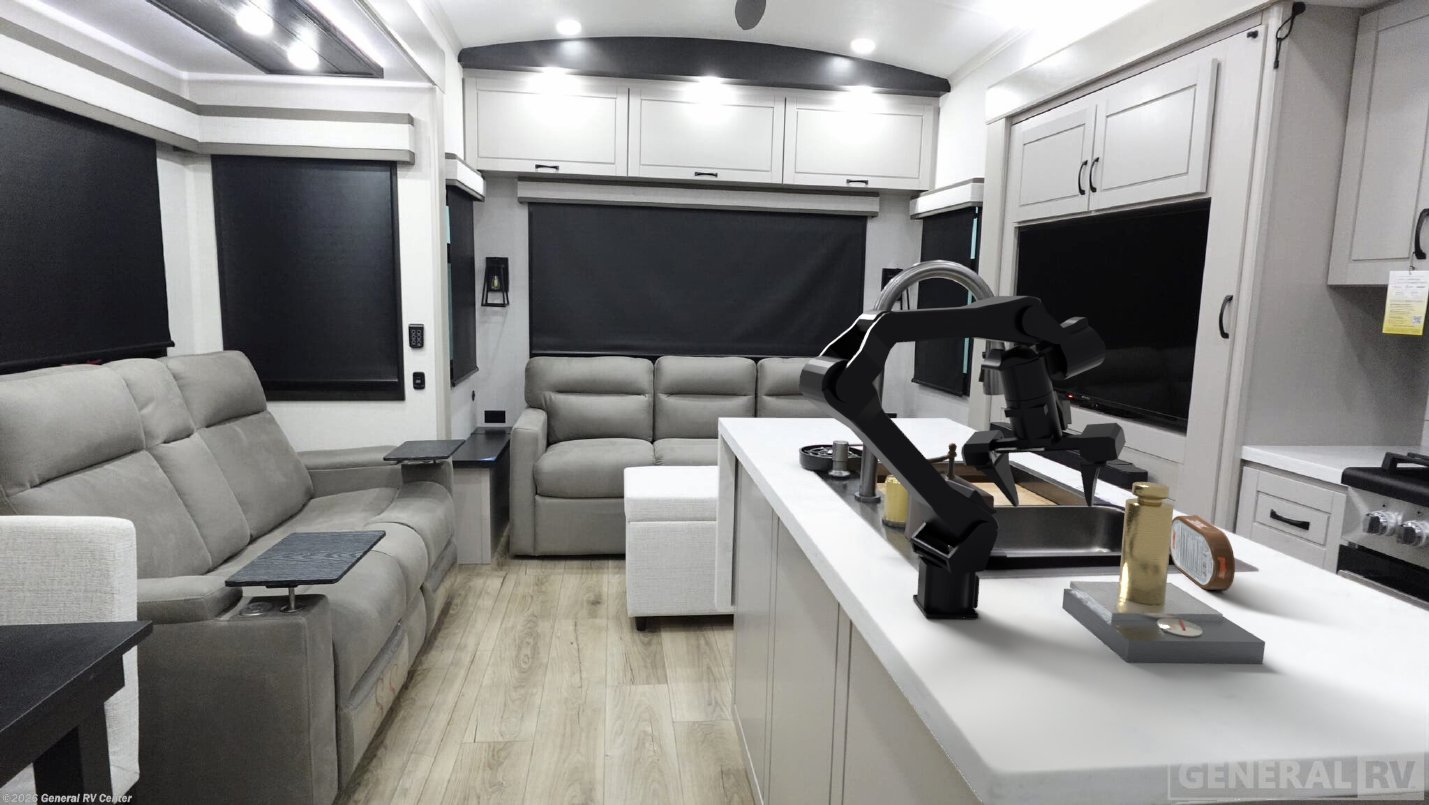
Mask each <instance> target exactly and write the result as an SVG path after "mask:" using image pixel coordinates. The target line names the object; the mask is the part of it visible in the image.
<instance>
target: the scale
mask: <svg viewBox="0 0 1429 805" xmlns="http://www.w3.org/2000/svg"><path fill="white" fill-rule="evenodd" d="M1118 590H1119V581H1084V580H1083V581H1079V580H1078V581H1076V580H1074V581H1070V583H1069V588H1063V595H1062V609H1063V610H1065V611H1066V612H1067V613H1068V614H1069V615H1071V616H1072V617H1073V618H1074V619H1075V620H1076V621H1078V622H1079V623H1080V624H1082V625H1083V627H1085V628H1086V629H1087V630H1088V631H1089V632H1091V633H1092V634H1093V635H1094V636H1095V637H1096V638H1097V639H1099V640H1100V641H1101V642H1103V644H1104V645H1106V646H1107V647H1108V648H1109V649H1110V650H1112V651H1113V652H1114V653H1115V654H1116V655H1118V656H1119V657H1120V658H1121V659H1122V660H1124V661H1125V662H1126V663H1148V664H1149V663H1150V664H1151V663H1152V664H1153V663H1155V664H1157V663H1158V664H1161V663H1162V664H1163V663H1166V664H1179V663H1180V664H1243V665H1244V664H1247V665H1248V664H1249V665H1250V664H1251V665H1253V664H1257V665H1258V664H1259V665H1261V664H1262V665H1263V662H1264V656H1265V648H1266V646H1265V645H1266V641H1264V640H1263V639H1261V638H1259V637H1258V636H1257V635H1255V634H1253V633H1252V632H1249V631H1248V630H1246V629H1245V628H1244V627H1241V626H1240V625H1239V624H1236V623H1235V622H1233V621H1232V620H1231V619H1228V618H1226V617H1225V616H1224V614H1223V613H1222V612H1220V611H1218V610H1217V609H1215V608H1213V607H1212V606H1210V605H1209V604H1207V603H1206V602H1204V601H1202V600H1200V599H1199V598H1197V597H1195V596H1193V595H1192V594H1190V593H1189V592H1187V591H1185V590H1184V589H1182V588H1180V587H1179V586H1177V585H1175V584H1174V583H1173V582H1168V581H1167V585H1166V596H1165V602H1164V603H1162V604H1143V603H1137V602H1133V601H1130V600H1127V599H1125V598H1123V597H1121V596H1120V595H1119V594H1118Z"/></svg>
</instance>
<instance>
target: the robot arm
mask: <svg viewBox="0 0 1429 805" xmlns="http://www.w3.org/2000/svg"><path fill="white" fill-rule="evenodd" d="M1041 300H1042V299H1041V298H1039V297H1036V296H1031V295H995V296H992V297H988V298H983V299H980V300H979V299H978V300H976V301H974V302H972V303H969V304H966V305H963V306H959V307H958V306H956V307H937V308H918V309H916V308H915V309H903V310H901V309H897V310H896V309H895V310H894V309H893V310H889V309H869V310H866V311H864V312H862V314H861V315H859V316H858V318H857V319H856V320H855V321H854V322H853V323H852V324H851V325H850V326H849V328H847V329H846V330H845V331H843V332H842V333H841V334H840V335H838V337H836V338H835V339H834V340H832V341H831V342H830V343H829V344H827V346H825V348H824V349H823V350H822V352H821V353H820V354H819V355H818V356H815V357H812V358H811V359H810V360H808V361H807V362H806V363H805V364H804V366H803V368H802V369H801V372H800V375H799V385H798V388H799V391H800V392H801V394H802V395H803V397H804V398H805V399H806V400H807V401H808V402H809V403H811V404H812V405H814V406H815V407H817V408H818V409H819V410H820V411H822V412H824V413H825V414H827V415H828V416H830V417H831V418H832V419H834V420H836V421H837V422H839V423H841V424H842V425H843V426H845V427H847V428H849V430H850V431H851V432H852V433H854V434H855V436H856V437H857V438H858V440H859V441H861V443H863V445H864V446H866V448H867V450H869V451H870V452H871V453H872V454H873V455H874V456H875V458H876V459H877V460H878V461H879V462H880V463H881V465H883V467H884V468H885V469H886V470H888V472H889V473H890V474H891V475H892V476H893V477H894V478H895V480H897V481H898V483H899V484H900V485H901V486H902V487H903V488H904V489H905V490H906V491H907V493H908V492H909V493H910V494H911V496H912V497H913V498H914V499H915V500H916V501H917V503H918V504H919V508H920V512H921V516H922V518H923V520H924V523H923V524H922V526H921V527H920V528H919V529H918V530H917V531H916V532H915V533H914V534H913V535H912V537H911V538H910V541H909V542H910V545H911V548H912V552H913V553H914V554H916V555H919V559H918V560H919V562H918V575H917V576H918V578H917V579H918V580H917V593H916V594H912V599H913V601H914V602H915V604H916V605H917V606H918V608H919V609H920V611H921V612H922V614H923V615H924V617H926V618H928V619H979V613H978V612H977V610H976V609H977V608H978V606H979V594H980V593H979V592H980V591H979V590H980V577H979V576H978V574H977V573H980V572H984V571H985V570H986V567H987V564H988V561H989V559H990V556H991V554H992V551H993V548H994V545H995V544H996V541H997V538H998V532H999V531H998V530H999V529H1000V525H999V521H998V520H997V518H996V517H995V516H994V515H995V514H996V513H997V510H996V509H991V508H990V507H989V506H988V505H987V504H986V503H985V501H984V499H983V498H982V496H981V495H980V493H979V492H978V491H977V490H974V489H972V488H969V487H967V486H964V485H961V484H959V483H956V482H954V481H951V480H948V481H946V480H945V479H944V478H943V477H942V476H941V475H940V474H939V471H938V470H937V469H936V468H935V467H934V466H933V465H932V464H931V463H930V462H929V461H928V460H927V459H928V458H926V457H925V456H924V454H923V453H922V452H921V451H920V450H919V449H918V448H917V447H916V445H915V444H914V443H913V442H912V441H911V440H910V439H909V437H907V435H906V434H905V433H904V432H903V431H902V430H901V429H900V428H899V426H898V425H897V424H896V423H895V422H894V420H893V419H892V418H891V417H890V416H889V415H888V414H887V413H886V412H885V410H884V408H883V406H882V402H881V398H880V394H879V391H878V389H877V386H875V384H874V381H875V380H876V379H877V378H878V377H879V375H880V374H881V373H882V371H883V369H884V366H885V365H886V362H887V359H888V357H889V354H890V352H891V350H892V349H893V348H894V347H895V345H896V344H897V343H899V344H900V343H912V342H927V341H929V342H930V341H944V340H945V341H946V340H957V339H958V340H959V339H961V340H962V339H976V340H984V341H990V342H996V343H997V342H998V343H1010V344H1018V345H1015V346H1012V347H1010V348H1008V349H1003V348H993V347H992V348H991V349H990V350H989V354H988V355H987V357H985V358H984V359H983V362H982V363H981V366H980V368H981V369H982V370H988V371H989V370H990V371H996V372H997V371H998V373H999V378H1000V382H1001V387H1002V392H1003V397H1004V400H1005V406H1006V408H1005V409H1003V410H1004V416H1005V418H1007V419H1009V422H1010V427H1011V432H1012V433H1011V434H1012V436H1013V437H1009V438H1007V437H1004V433H1003V432H1002V431H1001V430H1000V429H998V430H997V429H996V430H995V429H994V430H981V431H980V430H979V431H973V433H972V434H971V436H970V437H969V438H968V439H967V440H966V441H965V443H964V444H963V445H962V447H961V451H960V453H961V458H962V462H963V465H964V466H966V467H970V466H972V467H974V470H975V471H977V472H981V473H983V474H984V475H985V476H986V477H987V478H988V479H989V480H990V481H991V482H992V483H993V484H994V485H995V486H996V487H997V488H998V489H999V491H1000V492H1001V493H1002V494H1003V495H1004V497H1005V498H1006V499H1007V501H1009V503H1010V504H1011V505H1012V506H1013V507H1014V508H1017V507H1018V506H1019V504H1020V500H1019V495H1018V490H1017V487H1016V484H1015V480H1014V477H1013V472H1012V470H1011V466H1010V454H1018V453H1019V454H1020V453H1021V454H1023V453H1041V452H1063V451H1064V452H1065V451H1079V457H1081V458H1082V459H1081V462H1080V463H1079V468H1080V476H1081V481H1082V482H1081V483H1082V487H1083V488H1082V489H1083V494H1084V499H1085V502H1086V505H1087V508H1092V506H1093V505H1094V500H1095V494H1096V490H1097V489H1096V488H1097V484H1098V483H1097V482H1098V478H1099V473H1100V469H1101V468H1105V467H1107V466H1108V465H1109V463H1110V462H1112V461H1115V460H1118V458H1119V456H1120V455H1121V453H1122V451H1123V449H1124V447H1125V445H1126V442H1127V441H1126V436H1125V431H1124V429H1123V427H1122V426H1121V425H1120V424H1118V423H1117V422H1107V423H1106V422H1105V423H1092V424H1091V423H1090V424H1089V423H1088V424H1086V426H1085V427H1084V428H1083V431H1082V432H1081V433H1080V434H1077V433H1076V434H1064V435H1063V432H1064V431H1065V432H1066V431H1067V430H1068V428H1069V426H1068V425H1072V423H1073V420H1072V410H1071V409H1072V408H1071V401H1070V400H1059V397H1058V394H1057V391H1056V390H1054V388H1053V383H1052V379H1053V380H1055V381H1064V380H1066V379H1069V378H1071V377H1073V376H1076V375H1079V374H1081V373H1083V372H1086V371H1088V370H1091V369H1092V368H1095V367H1098V366H1100V365H1101V364H1102V363H1103V362H1104V360H1105V358H1106V353H1107V350H1106V344H1105V342H1104V341H1103V340H1102V337H1101V336H1100V335H1099V333H1098V332H1097V331H1096V330H1095V329H1094V328H1092V327H1091V326H1089V322H1088V318H1087V317H1085V316H1084V317H1081V316H1074V317H1071V318H1069V319H1067V320H1065V321H1064V322H1062V323H1059V322H1058V321H1057V320H1056V319H1055V318H1054V317H1052V315H1050V314H1049V313H1048V312H1047V310H1046V308H1045V305H1044V304H1043V302H1042V301H1041ZM1032 344H1033V345H1032ZM1027 345H1031V346H1027ZM992 514H993V515H992ZM948 545H950V546H952V547H954V549H951V548H949V547H948Z"/></svg>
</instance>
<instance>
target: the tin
mask: <svg viewBox="0 0 1429 805" xmlns="http://www.w3.org/2000/svg"><path fill="white" fill-rule="evenodd" d="M1231 544H1232V543H1231V542H1230V540H1229V538H1228V536H1227V534H1225V532H1224V531H1223V530H1221V529H1219V528H1218V527H1216V526H1215V525H1213V524H1211V523H1210V522H1208V521H1207V520H1206V519H1204V518H1203V517H1201V516H1199V515H1198V514H1193V515H1178V516H1177V515H1176V516H1175V517H1174V518H1172V529H1171V540H1170V551H1169V554H1170V555H1171V559H1172V562H1173V564H1174V565H1175V567H1176V568H1177V569H1178V571H1180V572H1181V573H1183V574H1184V575H1185V576H1186V577H1187V578H1189V579H1190V580H1191V581H1192V582H1193V583H1195V584H1196V585H1197V586H1198V587H1199V588H1201V589H1203V590H1207V591H1223V592H1224V591H1227V590H1229V589H1230V588H1231V587H1232V585H1233V582H1234V579H1235V574H1236V573H1235V572H1236V562H1235V555H1234V550H1233V547H1232V545H1231Z"/></svg>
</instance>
